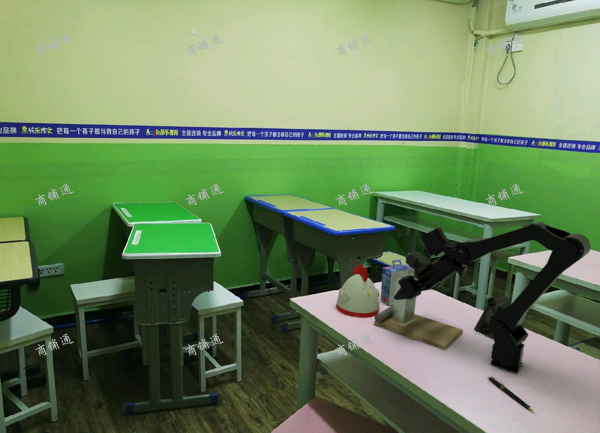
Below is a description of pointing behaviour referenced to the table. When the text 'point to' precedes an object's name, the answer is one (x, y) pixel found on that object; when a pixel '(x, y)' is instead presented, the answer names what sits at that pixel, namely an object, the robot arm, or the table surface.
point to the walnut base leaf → (420, 329)
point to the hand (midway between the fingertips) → (403, 294)
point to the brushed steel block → (403, 307)
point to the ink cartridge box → (392, 280)
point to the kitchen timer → (358, 295)
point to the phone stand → (490, 309)
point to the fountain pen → (508, 392)
